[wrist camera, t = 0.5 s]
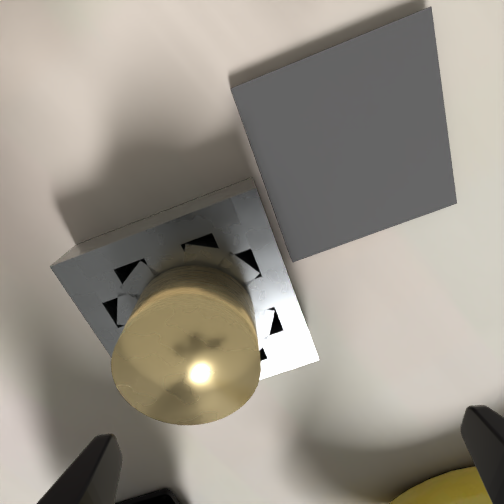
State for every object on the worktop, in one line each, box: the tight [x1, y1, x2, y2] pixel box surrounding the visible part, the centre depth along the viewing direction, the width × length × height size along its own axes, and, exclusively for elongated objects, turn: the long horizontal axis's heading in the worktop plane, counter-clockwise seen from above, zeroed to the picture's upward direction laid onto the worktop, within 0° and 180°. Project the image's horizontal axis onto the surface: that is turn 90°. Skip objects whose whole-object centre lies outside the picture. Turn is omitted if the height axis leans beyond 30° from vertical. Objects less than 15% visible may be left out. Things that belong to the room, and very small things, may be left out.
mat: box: [231, 7, 457, 262], centre depth 18 cm, size 10×10×1 cm
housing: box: [50, 177, 319, 380], centre depth 20 cm, size 11×11×3 cm
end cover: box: [111, 265, 261, 425], centre depth 18 cm, size 6×6×7 cm
